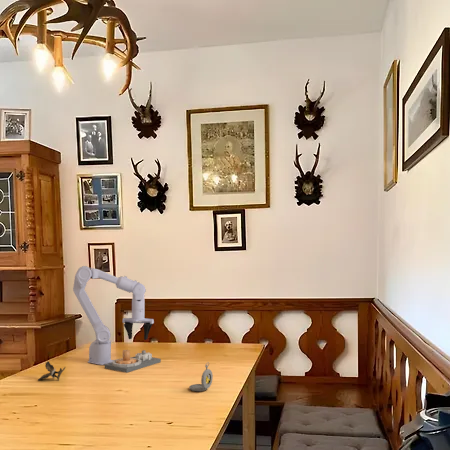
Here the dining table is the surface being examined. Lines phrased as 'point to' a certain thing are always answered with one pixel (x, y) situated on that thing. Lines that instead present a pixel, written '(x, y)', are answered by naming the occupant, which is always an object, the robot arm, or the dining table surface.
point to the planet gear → (126, 358)
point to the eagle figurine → (51, 371)
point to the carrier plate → (141, 361)
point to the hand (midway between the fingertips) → (138, 339)
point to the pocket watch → (203, 381)
